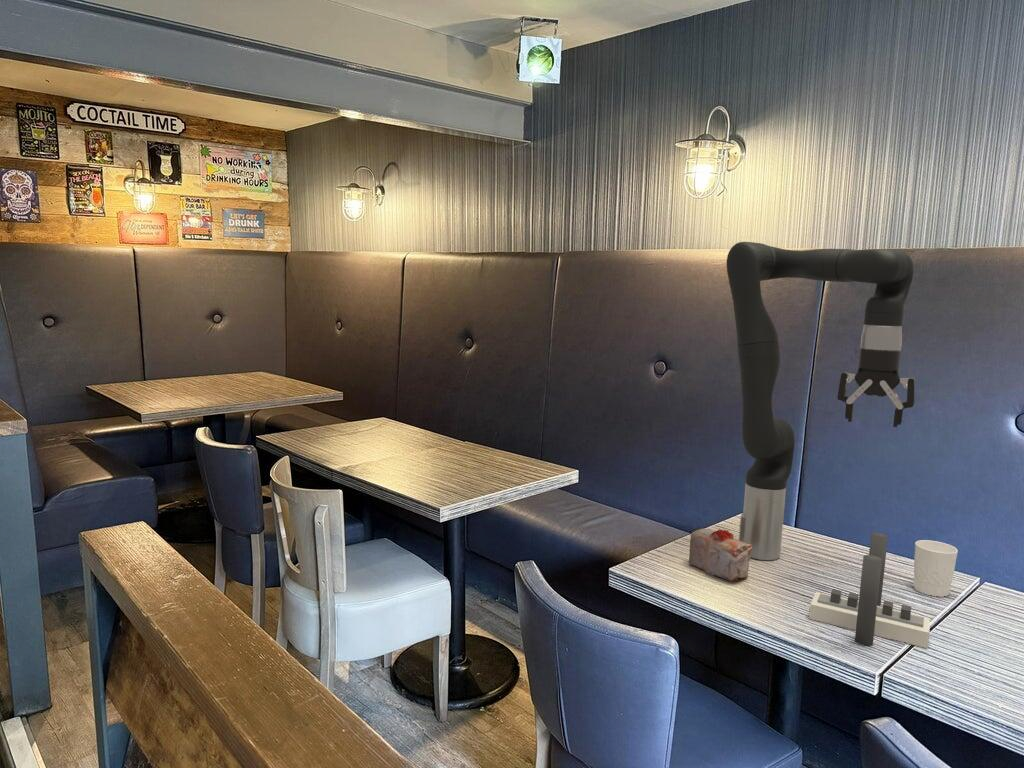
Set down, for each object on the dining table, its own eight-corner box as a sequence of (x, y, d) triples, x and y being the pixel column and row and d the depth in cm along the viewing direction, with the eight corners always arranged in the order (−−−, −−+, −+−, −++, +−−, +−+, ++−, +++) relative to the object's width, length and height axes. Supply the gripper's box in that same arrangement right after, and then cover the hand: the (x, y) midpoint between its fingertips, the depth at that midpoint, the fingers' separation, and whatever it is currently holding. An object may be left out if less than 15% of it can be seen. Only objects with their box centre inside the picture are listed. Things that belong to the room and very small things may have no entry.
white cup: (910, 593, 152) (916, 548, 151) (909, 580, 159) (914, 537, 158) (953, 601, 149) (959, 555, 147) (950, 588, 155) (956, 544, 154)
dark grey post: (853, 642, 129) (862, 558, 127) (855, 636, 132) (864, 553, 130) (872, 647, 128) (881, 562, 126) (873, 640, 130) (882, 557, 128)
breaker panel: (809, 618, 138) (811, 592, 138) (814, 605, 144) (817, 580, 143) (927, 648, 128) (930, 620, 127) (928, 633, 134) (931, 606, 133)
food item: (755, 578, 157) (758, 536, 156) (733, 587, 152) (736, 543, 151) (704, 559, 168) (707, 519, 167) (682, 566, 163) (685, 524, 162)
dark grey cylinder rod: (862, 612, 142) (870, 535, 140) (863, 606, 144) (871, 531, 142) (879, 616, 140) (887, 538, 138) (880, 610, 143) (888, 534, 141)
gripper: (840, 345, 148) (833, 422, 150) (919, 350, 140) (910, 431, 143) (845, 344, 154) (838, 417, 156) (920, 348, 147) (911, 425, 149)
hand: (872, 424), depth 149 cm, fingers open, 8 cm apart
